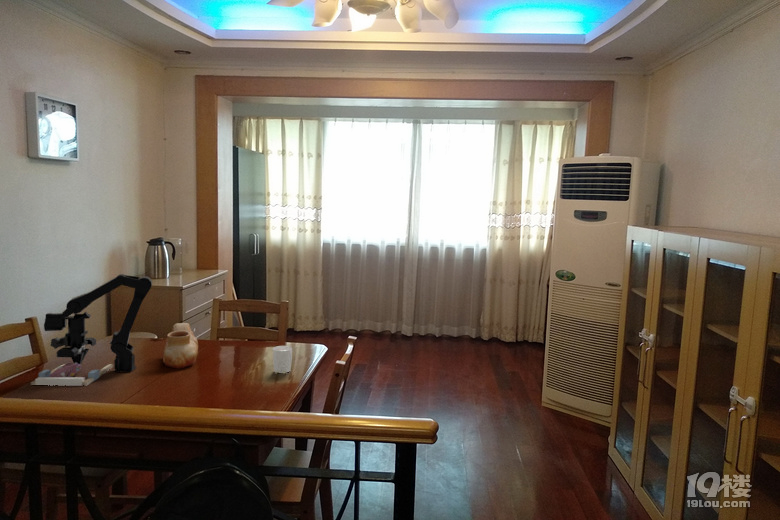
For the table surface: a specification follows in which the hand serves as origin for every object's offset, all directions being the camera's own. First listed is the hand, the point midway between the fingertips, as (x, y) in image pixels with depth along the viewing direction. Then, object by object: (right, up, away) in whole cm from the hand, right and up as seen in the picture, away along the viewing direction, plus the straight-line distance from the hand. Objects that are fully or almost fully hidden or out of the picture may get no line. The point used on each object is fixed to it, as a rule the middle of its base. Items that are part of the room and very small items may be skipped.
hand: (77, 368), depth 200 cm
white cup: (+78, -4, +11) cm, 79 cm away
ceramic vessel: (+32, -2, +22) cm, 39 cm away
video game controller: (-1, -3, -5) cm, 6 cm away
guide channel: (0, -2, -2) cm, 3 cm away
